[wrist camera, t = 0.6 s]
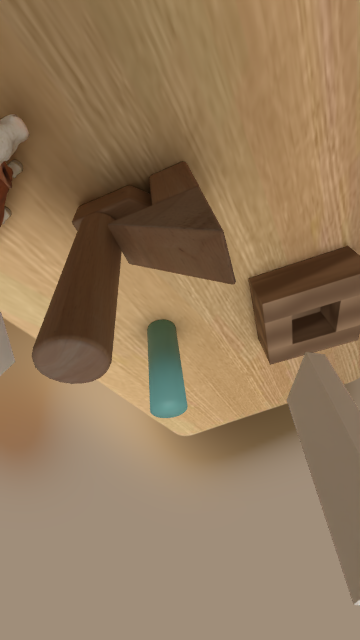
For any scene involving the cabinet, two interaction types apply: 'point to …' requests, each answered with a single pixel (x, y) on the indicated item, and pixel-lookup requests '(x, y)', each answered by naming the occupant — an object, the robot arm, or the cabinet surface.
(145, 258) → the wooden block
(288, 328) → the socket block
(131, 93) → the cabinet surface
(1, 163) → the bull figurine
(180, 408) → the peg
